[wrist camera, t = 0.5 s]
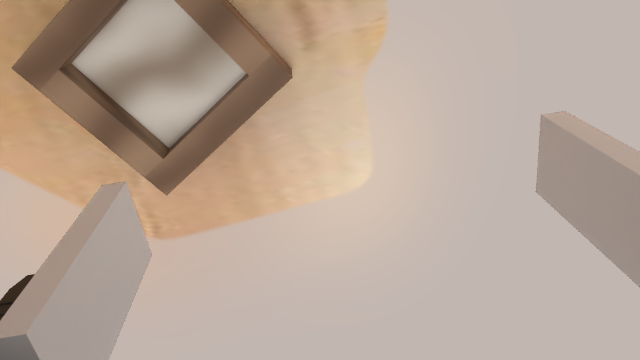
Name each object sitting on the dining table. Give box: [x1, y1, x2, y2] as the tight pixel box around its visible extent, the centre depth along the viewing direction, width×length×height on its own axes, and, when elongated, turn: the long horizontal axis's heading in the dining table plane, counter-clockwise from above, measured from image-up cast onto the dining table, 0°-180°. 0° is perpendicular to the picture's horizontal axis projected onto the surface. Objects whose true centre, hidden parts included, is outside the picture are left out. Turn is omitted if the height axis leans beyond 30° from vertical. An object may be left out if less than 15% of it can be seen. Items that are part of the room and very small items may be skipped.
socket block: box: [12, 0, 292, 195], centre depth 36 cm, size 14×14×3 cm
